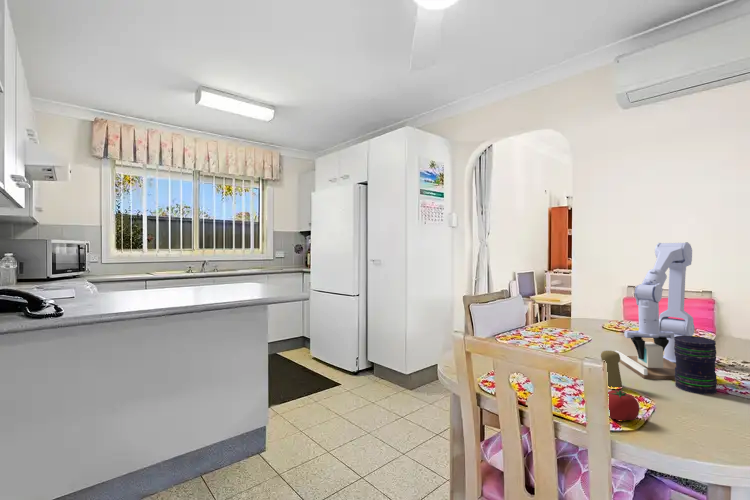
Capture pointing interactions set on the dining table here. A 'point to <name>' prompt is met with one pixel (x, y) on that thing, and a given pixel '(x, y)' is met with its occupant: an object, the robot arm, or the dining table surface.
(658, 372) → the brown tray
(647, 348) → the carton
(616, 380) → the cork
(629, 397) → the tomato
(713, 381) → the dark blue cylinder
